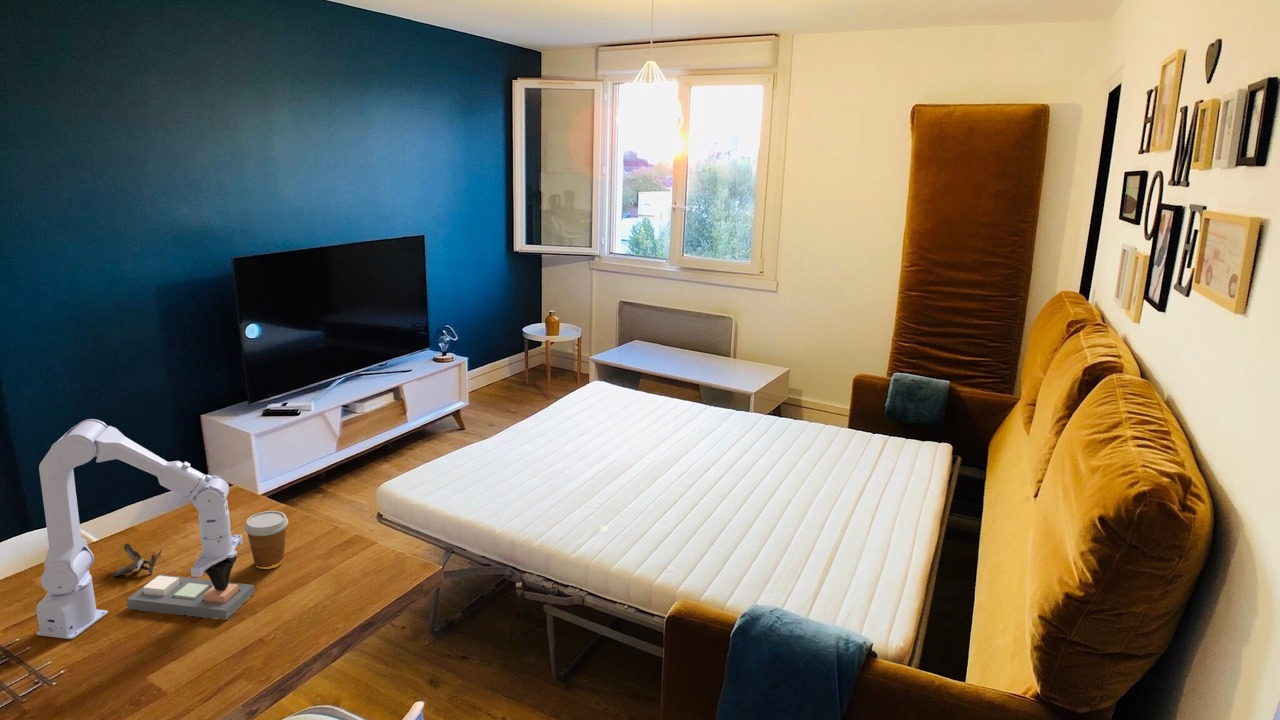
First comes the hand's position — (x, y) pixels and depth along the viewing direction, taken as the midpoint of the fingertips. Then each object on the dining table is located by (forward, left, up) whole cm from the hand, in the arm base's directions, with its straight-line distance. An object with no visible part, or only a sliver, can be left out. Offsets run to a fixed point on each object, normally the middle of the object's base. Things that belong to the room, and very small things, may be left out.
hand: (221, 588), depth 162 cm
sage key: (0, +7, -4) cm, 8 cm away
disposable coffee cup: (+18, 0, -5) cm, 19 cm away
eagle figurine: (+8, +27, -5) cm, 29 cm away
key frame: (0, +7, -4) cm, 8 cm away
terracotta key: (0, 0, -3) cm, 3 cm away
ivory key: (0, +14, -3) cm, 14 cm away
